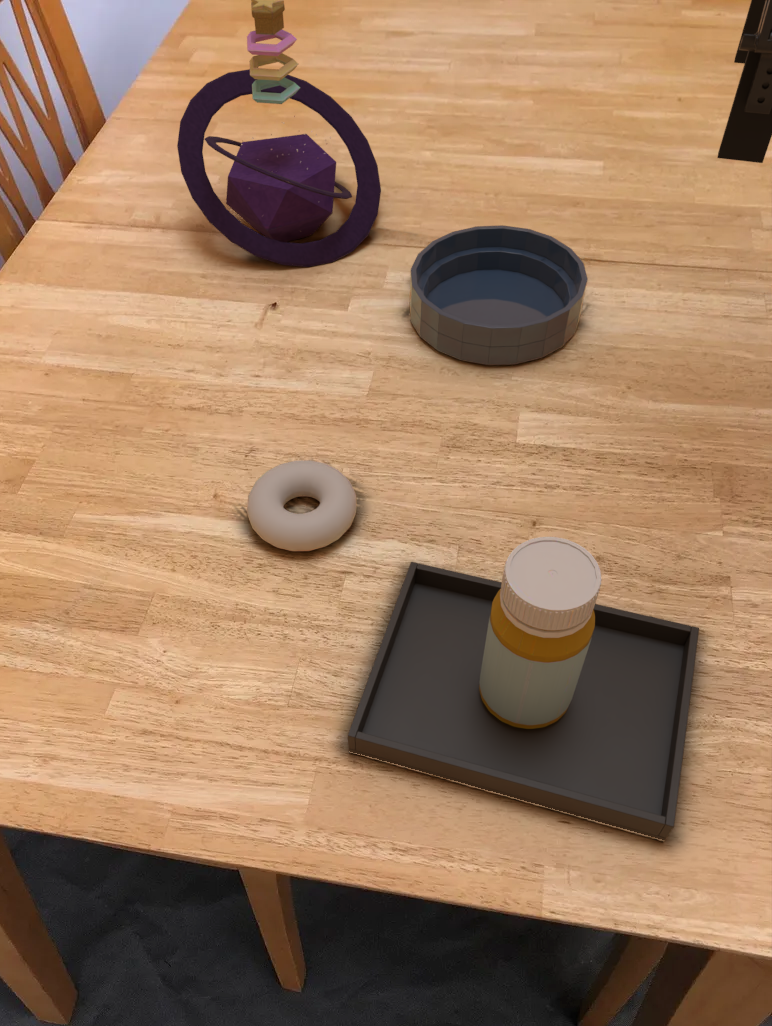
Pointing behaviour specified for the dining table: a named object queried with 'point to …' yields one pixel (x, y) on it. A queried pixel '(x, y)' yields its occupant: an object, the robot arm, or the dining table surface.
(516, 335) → the bowl
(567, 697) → the bottle
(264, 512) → the donut
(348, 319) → the dining table surface
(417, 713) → the tray
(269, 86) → the ringed planet model
